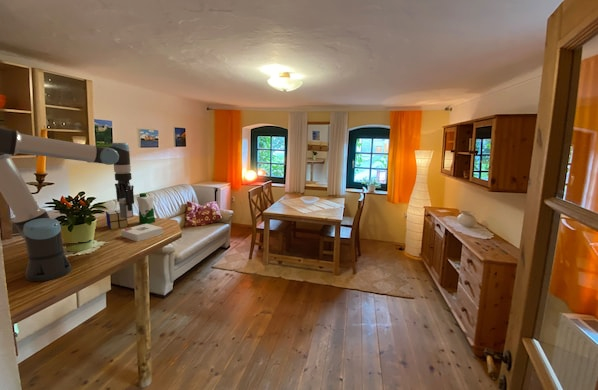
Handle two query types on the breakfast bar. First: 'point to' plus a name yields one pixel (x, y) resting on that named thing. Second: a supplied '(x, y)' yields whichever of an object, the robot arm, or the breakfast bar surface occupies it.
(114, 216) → the puzzle cube
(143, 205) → the milk carton
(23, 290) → the breakfast bar surface
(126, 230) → the socket plate
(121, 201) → the plug
